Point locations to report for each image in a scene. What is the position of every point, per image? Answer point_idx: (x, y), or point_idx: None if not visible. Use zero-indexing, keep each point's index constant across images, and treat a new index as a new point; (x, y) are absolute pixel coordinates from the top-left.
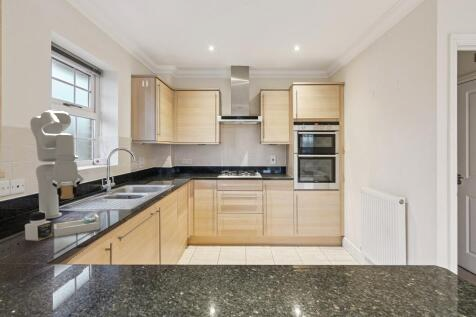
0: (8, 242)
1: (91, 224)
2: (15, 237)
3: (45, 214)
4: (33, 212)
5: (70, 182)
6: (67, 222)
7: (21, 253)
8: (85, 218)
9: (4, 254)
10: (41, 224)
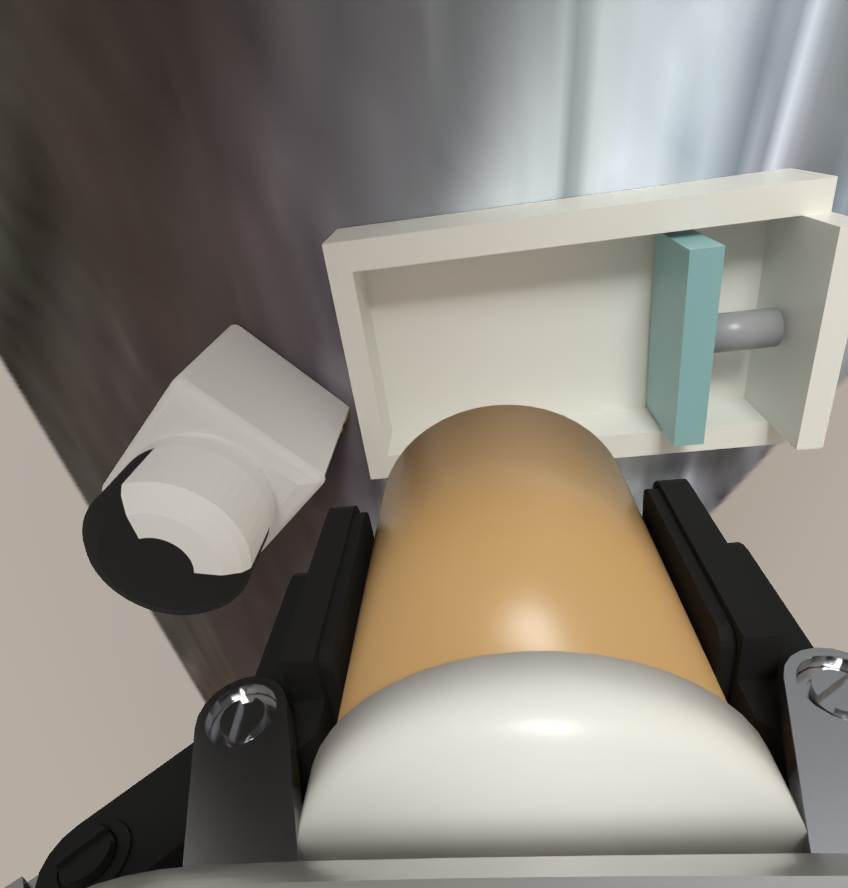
0: (60, 418)
1: (699, 445)
2: (38, 287)
3: (255, 559)
4: (103, 543)
5: (717, 848)
6: (473, 252)
7: (255, 664)
8: (679, 365)
9: (168, 640)
10: (261, 551)
